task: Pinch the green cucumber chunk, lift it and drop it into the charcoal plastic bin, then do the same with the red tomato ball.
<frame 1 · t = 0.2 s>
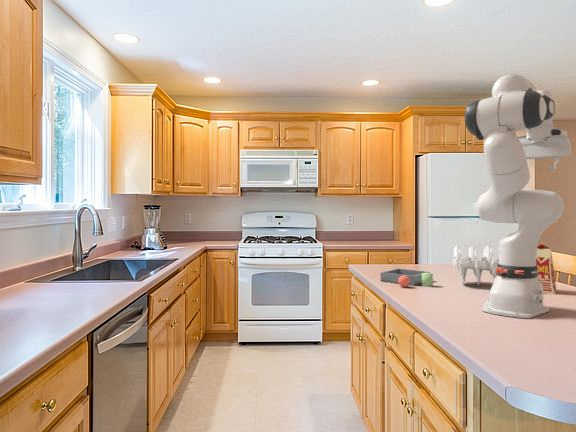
hand: (539, 170, 160), 48 cm above the countertop, tool pointing down, fingers open, 8 cm apart
milk carton: (541, 291, 165), on the countertop
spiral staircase: (485, 286, 176), on the countertop
cucumber chunk: (427, 285, 176), on the countertop
tomato ball: (404, 287, 173), on the countertop
bin: (405, 281, 187), on the countertop
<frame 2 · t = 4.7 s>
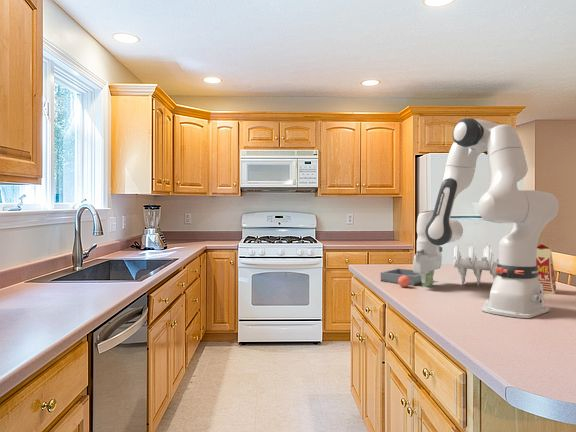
hand: (427, 281, 176), 2 cm above the countertop, tool pointing down, fingers closed on cucumber chunk, 4 cm apart
cucumber chunk: (427, 285, 176), on the countertop, touching gripper
everything else where it was.
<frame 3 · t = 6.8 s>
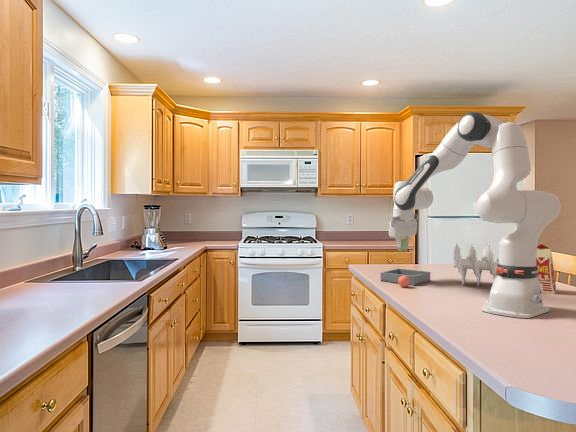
hand: (402, 246, 189), 15 cm above the countertop, tool pointing down, fingers closed on cucumber chunk, 4 cm apart
cucumber chunk: (402, 250, 189), point 14 cm above the countertop, touching gripper
everything else where it was.
when the fingers open (4 cm above the countertop, at t = 8.9 s): cucumber chunk drops 1 cm, resting on bin.
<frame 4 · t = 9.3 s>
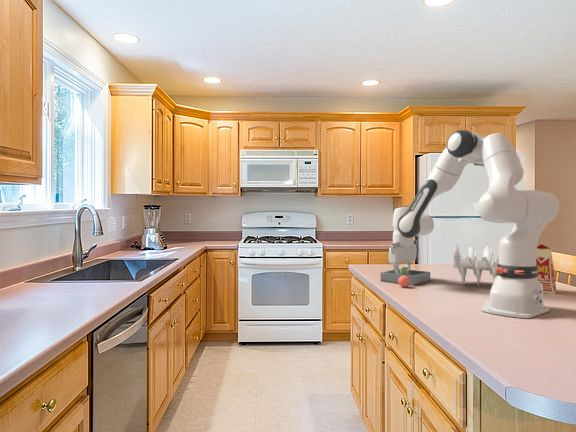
hand: (402, 272, 189), 4 cm above the countertop, tool pointing down, fingers open, 8 cm apart
cucumber chunk: (402, 278, 189), point 1 cm above the countertop, touching bin
everything else where it was.
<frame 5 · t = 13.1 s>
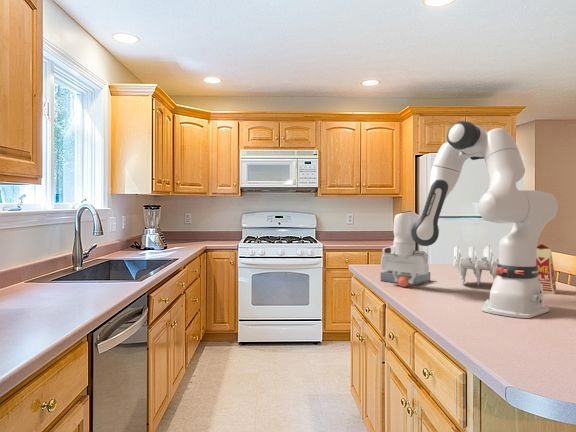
hand: (404, 282, 173), 2 cm above the countertop, tool pointing down, fingers closed on tomato ball, 5 cm apart
tomato ball: (403, 287, 173), on the countertop, touching gripper
everything else where it was.
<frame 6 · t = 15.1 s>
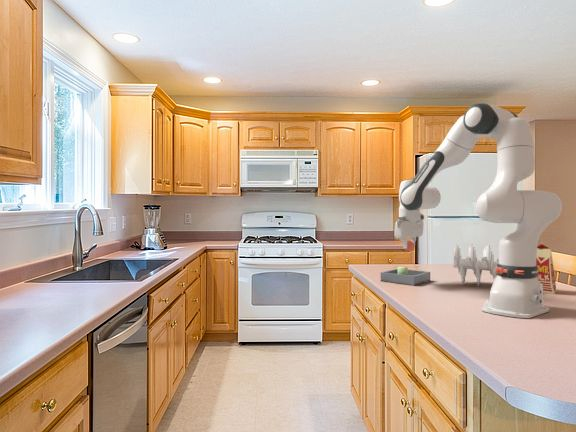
hand: (408, 247, 183), 15 cm above the countertop, tool pointing down, fingers closed on tomato ball, 5 cm apart
tomato ball: (408, 251, 183), point 14 cm above the countertop, touching gripper
everything else where it was.
when the fingers open (5 cm above the countertop, at t = 17.0 s): tomato ball drops 3 cm, resting on bin.
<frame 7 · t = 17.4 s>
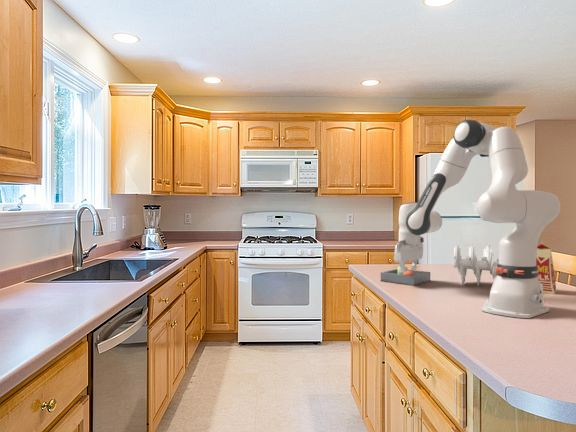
hand: (408, 270, 183), 5 cm above the countertop, tool pointing down, fingers open, 8 cm apart
tomato ball: (408, 281, 183), point 1 cm above the countertop, touching bin
everything else where it was.
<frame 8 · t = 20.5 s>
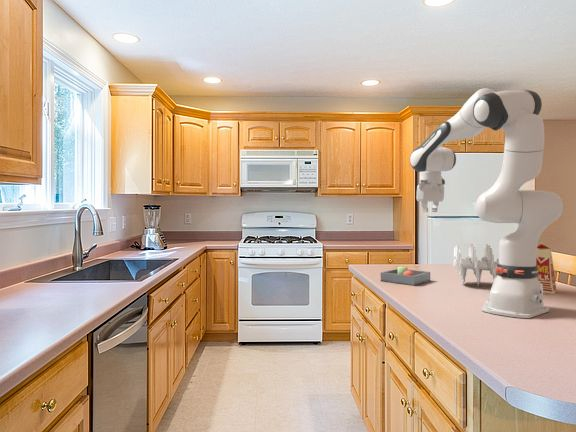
hand: (430, 212, 182), 31 cm above the countertop, tool pointing down, fingers open, 8 cm apart
nothing on the countertop moved.
at the end: cucumber chunk inside the target area on the bin (2.2 cm from its centre), point 0.6 cm above the bin's base; tomato ball inside the target area on the bin (4.2 cm from its centre), point 0.6 cm above the bin's base; the gripper is holding nothing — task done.
